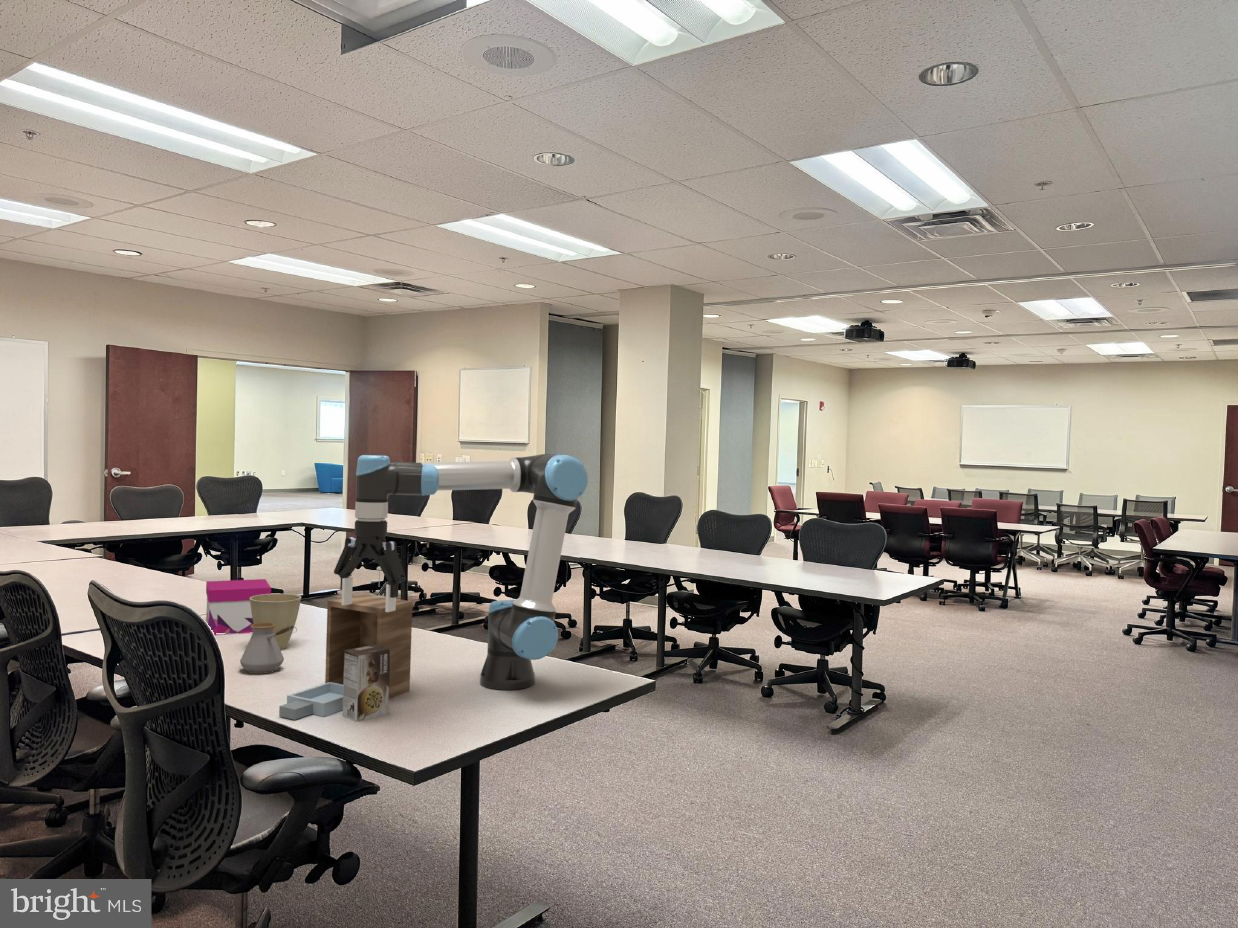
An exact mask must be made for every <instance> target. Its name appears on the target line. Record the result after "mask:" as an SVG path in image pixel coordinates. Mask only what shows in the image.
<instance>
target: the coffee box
mask: <svg viewBox="0 0 1238 928" xmlns="http://www.w3.org/2000/svg"><path fill="white" fill-rule="evenodd" d="M389 672H390V649H388V648H385V647H383V646H380V645H376V644H374V645H369V646H364V647H359V648H354V649H349V650H344V682H343V710H342V717H344V718H347V719H349V720H351V721H353V722H363V721H365V720H370V719H374V718H377V717H382V716H384V715H389V714H390V713H389V712H390V698H389V676H390V675H389Z"/></svg>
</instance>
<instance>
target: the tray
mask: <svg viewBox="0 0 1238 928" xmlns="http://www.w3.org/2000/svg"><path fill="white" fill-rule="evenodd" d="M278 707H279V708H278V709H279V710H278V714H279V715H278V716H279V718H280V717H282V718H285V719H289V720H294V721H296V720H299V719H301V718H304V717H307V716H310V715H312V716H313V715H315V716H318V717H323V718H325V717H327V716H329V715H333V714H335V713H338V712H342V711H343V685H342V684H337V683H332V682H328V683H323V684H319V685H315V686H313V687H309V688H306V689H304V690H300V691H297V692H294V693H291V694H287V695H286V704H282V705H279V706H278Z"/></svg>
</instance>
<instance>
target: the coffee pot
mask: <svg viewBox="0 0 1238 928" xmlns="http://www.w3.org/2000/svg"><path fill="white" fill-rule="evenodd" d="M274 627H275V624H273V623H257V624H253V625H251V628H252V630H253V633H251V637H250V639H249V641H248V643H247V645H246V647H245V650H244V652H243V654H242V655H241V658H240V660H239V663H240V665H241V667H242V668H243V669H244V670H246V671H247V673H249V674H261V675H262V674H268V673H269V674H270V673H273V672H276V671H277V669H278V668H280V666H281V665H282V664H283V662H284V660H285V658H284V656H283V655H284V654H283V653H282V650H280V648H279V646H278V643H277V641H276V639H275V636H276V635H280V634H283V633H285V632H287V631H289V632H290V630H291V629H292V628H293V627H294V629H295V631H293V634H295V633H296V632H297V631H298V629H297V627H295V626H290V627H289V626H288V627H287V628H283V629H281V630H280V631H278V632H276V633H274V634H273V628H274ZM290 633H291V632H290ZM272 671H273V672H272Z"/></svg>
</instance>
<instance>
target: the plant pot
mask: <svg viewBox="0 0 1238 928" xmlns="http://www.w3.org/2000/svg"><path fill="white" fill-rule="evenodd" d="M301 600H302V596H301V595H299V594H294V593H293V594H292V593H271V594H262V595H256V596H252V597H250V604H251V612H252V618H253V623H254V624H257V623H273V624H275V627H274V628H273V634H274V633H276V632H278V631H280V630H281V629H283V628H287V627H288V626H289V627H290V626H294V627H293V628H292V629H291V630H290V632H291V633H290V632H289V631H287V632H285V633H283V634H280V635H276V636H275V639H276V641H277V643H278V646H279V648H280V650H281V651H282V650H285V649H286V648H287V646H288V645H289V642H290V639H291V636H292V635H293V633H294V629H295V625H296V622H297V618H298V615H299V612H300V606H301Z"/></svg>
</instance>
